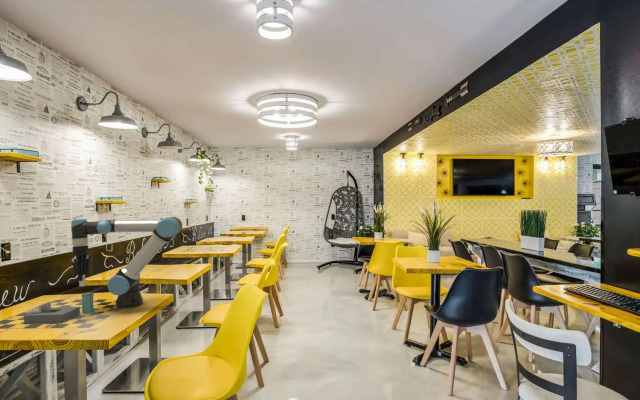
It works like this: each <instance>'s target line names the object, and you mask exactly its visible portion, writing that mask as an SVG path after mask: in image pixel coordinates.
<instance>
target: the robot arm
mask: <svg viewBox="0 0 640 400" xmlns="http://www.w3.org/2000/svg"><path fill="white" fill-rule="evenodd" d="M70 222H71V223H70V225H71V226H70V228H71V240H72V241H71V243H72V253H74V254H73V258H71V259H70V262H71V263H72V268H73V272H74V275H76V276H78V283H79V284H78V285H79V287H86V286H87V284H86V283H87V282H86V281H87V280H86V278H87V275H88V273H89V269H90V262H91V257H92V256H91V255H88V252H89V237H88V235H89V236H90V235H105V234H109V233H152V236H150V238H149V239H148V240H147V241H146V242H145V243H144V245H142V246H141V248H140V250H138V252H137V253H136V254H135V256H133V258H132V259H131V260H130V261H129V262H128V264H126V266H123V267H121V268H119V269H118V271H117V272H116V273H115V275H113V276H111V277H110V278H109V280H108V281H107V289H108V292H109V293H111V294H112V295H114V296H117V298H116V300H115V308H118V309H128V308H134V307H138V305H139V306H141V305H143V304H144V298H143V296H142V294H141V287H140V286H141V284H140V283H141V282H140V281H141V280H140V278H141V277H140V276H141V273H142V271H144V269H145V267H146V266H147V265H148V264H149V263H150V261H152V259H153V258H154V257H155V256H156V255H157V253H159V251H160V250H161V249H162V247H164V245H165V244H169V243H170V242H171V240H173V238H174V237H175V236H176V235H178V234H180V232H181V231H182V230H183V223H182V220H181V219H179V218H178V217H176V216H169V217H167V216H166V217H163V218H162V217H161V218H159V219H117V220H116V219H114V220H113V219H107V220H98V221H88V219H86V218H78V219H75V218H74V219H72V220H70ZM142 303H143V304H142ZM140 304H141V305H140Z"/></svg>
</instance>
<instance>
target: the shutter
mask: <svg viewBox="0 0 640 400" xmlns="http://www.w3.org/2000/svg"><path fill="white" fill-rule="evenodd" d="M51 303H52V302H51V301H48V302H45V303H42V304H40V305H39V306H38V307H34V308H32V309H29V310H28V311H26V314H29V313H42V312H44V311H46V310H49V309H51V306H52V305H51Z"/></svg>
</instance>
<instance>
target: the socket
mask: <svg viewBox="0 0 640 400" xmlns="http://www.w3.org/2000/svg"><path fill="white" fill-rule="evenodd" d="M80 314H81V306H60V307H59V306H58V307H55V306H54V307H51V309H49V310H46V311H44V312H42V313H26V314H24V315H23V324H24V325H31V324H32V325H37V324H38V325H39V324H41V325H43V324H64V323H66V322H67V321H70V320H72V319H74V318H76V317H79V316H80Z"/></svg>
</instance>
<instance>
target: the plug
mask: <svg viewBox="0 0 640 400" xmlns="http://www.w3.org/2000/svg"><path fill="white" fill-rule="evenodd" d="M94 295H95V293H94V292H85V293H82V294H81V305H82V306H81V313H82V314H90V313H92V312H93V313H94Z"/></svg>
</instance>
